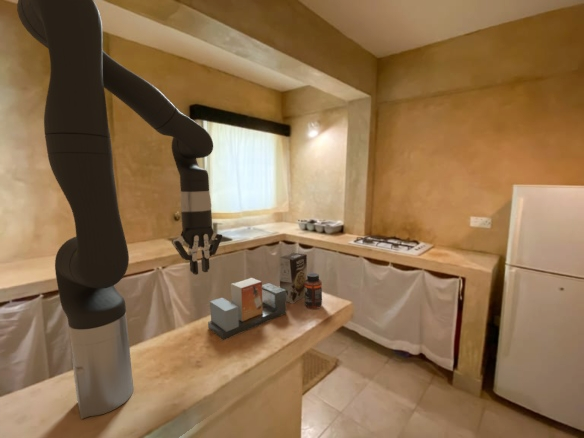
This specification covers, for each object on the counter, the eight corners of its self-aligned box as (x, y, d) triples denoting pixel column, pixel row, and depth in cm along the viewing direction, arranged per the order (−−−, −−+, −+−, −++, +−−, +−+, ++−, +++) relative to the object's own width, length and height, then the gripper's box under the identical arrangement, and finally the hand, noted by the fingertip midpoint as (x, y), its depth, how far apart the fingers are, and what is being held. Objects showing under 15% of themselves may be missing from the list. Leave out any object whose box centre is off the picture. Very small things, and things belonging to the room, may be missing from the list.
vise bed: (223, 340, 77) (222, 312, 76) (208, 328, 84) (206, 302, 83) (286, 313, 92) (285, 289, 91) (269, 304, 99) (268, 283, 98)
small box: (242, 322, 83) (240, 288, 81) (231, 316, 87) (230, 283, 85) (263, 313, 88) (262, 281, 87) (252, 307, 92) (251, 277, 91)
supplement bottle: (324, 304, 99) (324, 273, 97) (317, 311, 94) (317, 278, 92) (309, 300, 102) (309, 270, 100) (301, 307, 97) (301, 275, 95)
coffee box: (293, 304, 99) (292, 259, 97) (279, 299, 103) (278, 257, 101) (307, 295, 107) (307, 254, 105) (294, 291, 111) (293, 251, 108)
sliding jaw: (226, 331, 77) (225, 311, 77) (211, 320, 84) (210, 301, 83) (238, 326, 80) (237, 306, 79) (223, 316, 87) (222, 297, 86)
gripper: (213, 206, 81) (216, 264, 83) (163, 210, 71) (168, 275, 74) (227, 207, 75) (230, 270, 77) (174, 211, 66) (179, 282, 68)
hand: (200, 272), depth 76 cm, fingers closed
